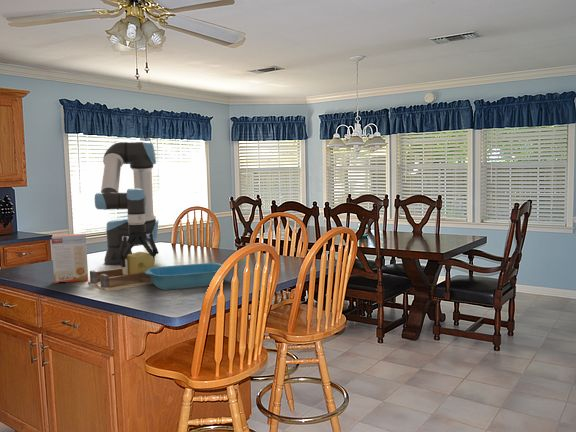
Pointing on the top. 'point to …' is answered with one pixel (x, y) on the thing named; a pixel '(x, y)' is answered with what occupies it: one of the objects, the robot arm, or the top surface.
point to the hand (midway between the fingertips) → (138, 272)
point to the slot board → (117, 279)
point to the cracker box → (69, 258)
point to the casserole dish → (183, 275)
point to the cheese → (139, 262)
